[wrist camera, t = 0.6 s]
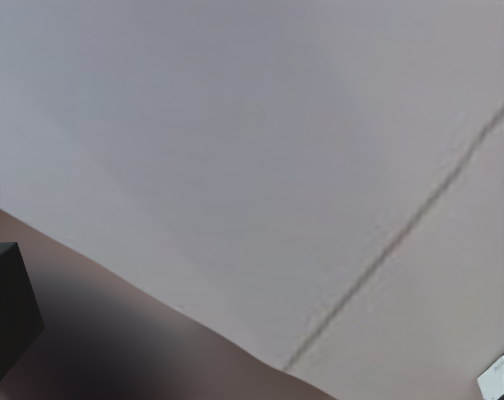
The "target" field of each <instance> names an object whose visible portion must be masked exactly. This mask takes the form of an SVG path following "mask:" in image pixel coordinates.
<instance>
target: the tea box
mask: <svg viewBox="0 0 504 400" xmlns="http://www.w3.org/2000/svg"><path fill="white" fill-rule="evenodd" d="M477 382H478V384H479V387H480V390H481V393H482V396H483V398H484V400H504V355H503V356H502V357H500V358H499V359H498V360H497V361H496V362H495V363H494V364H493V365H492V366H491V367H490V368H489V369H487V370H486V371H485V372H484V373H483V374H482V375H480V376H479V377H478V379H477Z"/></svg>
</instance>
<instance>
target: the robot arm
mask: <svg viewBox="0 0 504 400" xmlns="http://www.w3.org/2000/svg"><path fill="white" fill-rule="evenodd" d="M44 329H45V326H44V323H43V320H42V317H41V314H40V310H39V308H38V305H37V302H36V299H35V295H34V292H33V289H32V286H31V283H30V280H29V277H28V274H27V271H26V268H25V265H24V262H23V259H22V256H21V253H20V250H19V247H18V244H17V242H10V243H0V381H1V380H2V378H3V377H4V376H5V375H6V374H7V372H8V371H9V370H10V369H11V368H12V366H13V365H14V364H15V363H16V362H17V361H18V359H19V358H20V357H21V356H22V355H23V354H24V352H25V351H26V350H27V349H28V348H29V346H30V345H31V344H32V343H33V342H34V340H35V339H36V338H37V337H38V336H39V335H40V333H41V332H42V331H43V330H44Z"/></svg>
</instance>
